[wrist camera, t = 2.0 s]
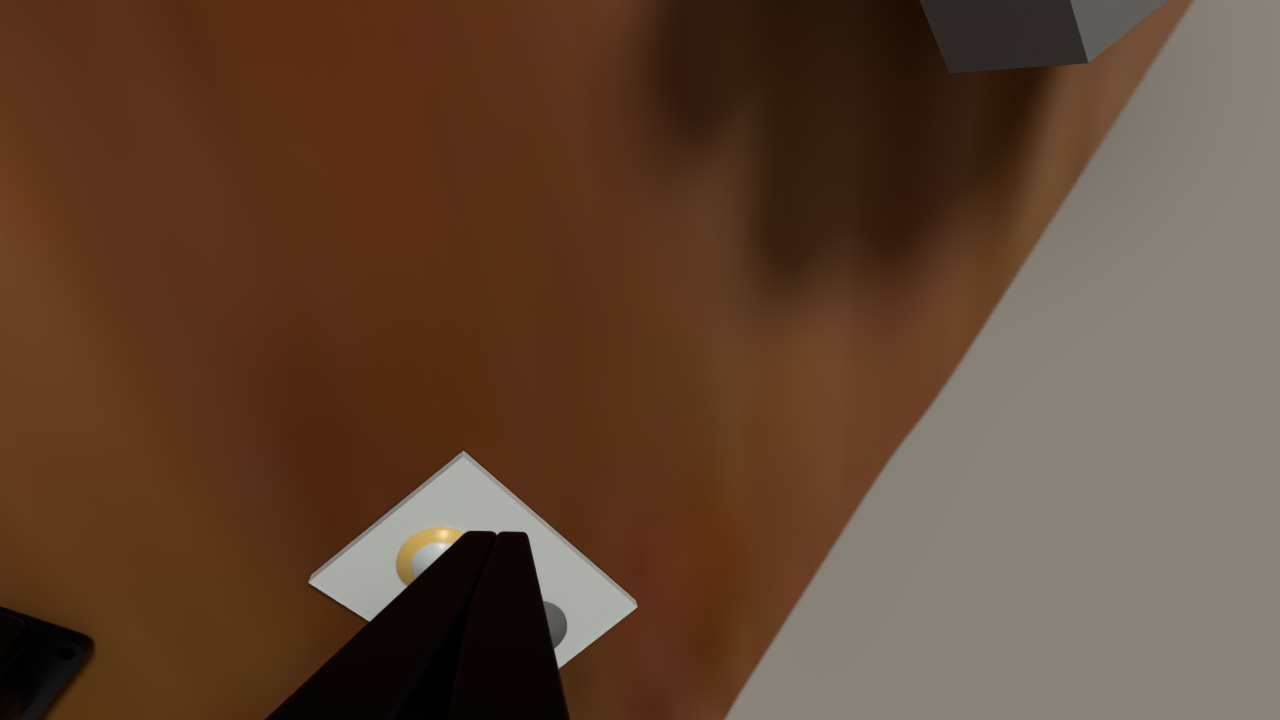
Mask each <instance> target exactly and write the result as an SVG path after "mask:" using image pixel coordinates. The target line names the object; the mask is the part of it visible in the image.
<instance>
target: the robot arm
mask: <svg viewBox="0 0 1280 720" xmlns="http://www.w3.org/2000/svg"><path fill="white" fill-rule="evenodd" d="M91 646H92V643H91V640H90V639H89V638H88V637H87V636H85V635H83V634H81V633H78V632H75V631H72V630H69V629H66V628H63V627H60V626H57V625H54V624H51V623H47V622H44V621H41V620H38V619H35V618H32V617H29V616H26V615H23V614H20V613H17V612H14V611H11V610H8V609H5V608H2V607H0V720H37V718H38V717H39V716H40V715H41V713H42V712H43V711H44V709H45V708H46V707H47V705H48V704H49V703H50V702H51V700H52V699H53V698H54V696H55V695H56V694H57V692H58V691H59V690H60V689H61V687H62V686H63V685H64V683H65V682H66V681H67V679H68V678H69V677H70V676H71V674H72V673H73V672H74V670H75V669H76V668H77V666H78V665H79V664H80V663H81V661H82V660H83V659H84V657H85V656H86V655H87V653H88V652H89V650H90V649H91ZM67 648H70V649H72V650H69V649H67ZM265 720H570V716H569V712H568V707H567V703H566V699H565V694H564V690H563V686H562V681H561V677H560V672H559V668H558V664H557V659H556V655H555V651H554V646H553V642H552V637H551V633H550V629H549V624H548V620H547V616H546V611H545V607H544V602H543V598H542V594H541V589H540V585H539V580H538V576H537V572H536V567H535V563H534V559H533V554H532V550H531V545H530V541H529V537H528V535H527V533H525V532H514V531H501V532H499V533H498V534H496V533H495V532H493V531H467V532H466V533H464V534H463V535H462V536H461V537H460V538H459V539H457V540H456V541H455V542H454V543H453V544H452V545H451V546H450V547H449V548H448V549H447V550H446V551H445V552H444V553H442V554H441V555H440V556H439V557H438V558H437V559H436V560H435V561H434V562H433V563H432V564H431V565H430V566H429V567H427V568H426V569H425V570H424V571H423V572H422V573H421V574H420V575H419V576H418V577H417V578H416V579H415V580H414V581H413V582H411V583H410V584H409V585H408V586H407V587H406V588H405V589H404V590H403V591H402V592H401V593H400V594H399V595H398V596H396V597H395V598H394V599H393V600H392V601H391V602H390V603H389V604H388V605H387V606H386V607H385V608H384V609H383V610H381V611H380V612H379V613H378V614H377V615H376V616H375V617H374V618H373V619H372V620H371V621H370V622H369V623H368V624H367V625H365V626H364V627H363V628H362V629H361V630H360V631H359V632H358V633H357V634H356V635H355V636H354V637H353V638H352V639H350V640H349V641H348V642H347V643H346V644H345V645H344V646H343V647H342V648H341V649H340V650H339V651H338V652H337V653H335V654H334V655H333V656H332V657H331V658H330V659H329V660H328V661H327V662H326V663H325V664H324V665H323V666H322V667H321V668H319V669H318V670H317V671H316V672H315V673H314V674H313V675H312V676H311V677H310V678H309V679H308V680H307V681H306V682H304V683H303V684H302V685H301V686H300V687H299V688H298V689H297V690H296V691H295V692H294V693H293V694H292V695H291V696H289V697H288V698H287V699H286V700H285V701H284V702H283V703H282V704H281V705H280V706H279V707H278V708H277V709H276V710H275V711H273V712H272V713H271V714H270V715H269V716H268V717H267V718H266V719H265Z"/></svg>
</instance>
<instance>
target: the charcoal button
mask: <svg viewBox="0 0 1280 720" xmlns="http://www.w3.org/2000/svg"><path fill="white" fill-rule="evenodd" d="M1165 1H1167V0H920V3H921V5H922V8H923V10H924V12H925V15H926V17H927V20H928V22H929V25H930V27H931V30H932V32H933V34H934V37H935V39H936V42H937V44H938V47H939V49H940V51H941V54H942V56H943V59H944V61H945V64H946V66H947V69H948V71H949V73H950V74H951V73H964V72H977V71H991V70H1004V69H1017V68H1030V67H1043V66H1056V65H1069V64H1082V63H1089V62H1091V61H1092V60H1093V59H1094V58H1095V57H1097V56H1098V55H1099V54H1100V53H1102V52H1103V51H1104V50H1105V49H1107V48H1108V47H1109V46H1110V45H1112V44H1113V43H1114V42H1115V41H1117V40H1118V39H1119V38H1120V37H1122V36H1123V35H1124V34H1125V33H1127V32H1128V31H1129V30H1130V29H1132V28H1133V27H1134V26H1135V25H1137V24H1138V23H1139V22H1140V21H1142V20H1143V19H1144V18H1145V17H1147V16H1148V15H1149V14H1150V13H1152V12H1153V11H1154V10H1155V9H1157V8H1158V7H1159V6H1160V5H1162V4H1163V3H1164V2H1165Z"/></svg>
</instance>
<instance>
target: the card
mask: <svg viewBox="0 0 1280 720" xmlns="http://www.w3.org/2000/svg"><path fill="white" fill-rule="evenodd" d="M467 531H493V532H495V533H496V534H498V533H499V532H501V531H514V532H525V533H527V535H528V537H529V541H530V545H531V550H532V554H533V559H534V563H535V567H536V572H537V576H538V580H539V585H540V589H541V594H542V598H543V602H544V607H545V611H546V616H547V620H548V624H549V629H550V633H551V637H552V642H553V646H554V651H555V655H556V659H557V664H558V668H560V667H561V666H563V665H564V664H565V663H566V662H568V661H569V660H570V659H572V658H573V657H574V656H575V655H577V654H578V653H579V652H580V651H582V650H583V649H584V648H586V647H587V646H588V645H589V644H591V643H592V642H593V641H595V640H596V639H597V638H598V637H600V636H601V635H602V634H604V633H605V632H606V631H607V630H609V629H610V628H611V627H613V626H614V625H615V624H616V623H618V622H619V621H620V620H622V619H623V618H624V617H625V616H627V615H628V614H629V613H630V612H632V611H633V610H634V609H636V608H637V604H636V601H635V599H634V598H632V597H631V596H630V595H629V594H628V593H627V592H626V591H624V590H623V589H622V588H621V587H620V586H619V585H618V584H616V583H615V582H614V581H613V580H612V579H611V578H609V577H608V576H607V575H606V574H605V573H604V572H603V571H601V570H600V569H599V568H598V567H597V566H596V565H595V564H593V563H592V562H591V561H590V560H589V559H588V558H586V557H585V556H584V555H583V554H582V553H581V552H580V551H578V550H577V549H576V548H575V547H574V546H573V545H571V544H570V543H569V542H568V541H567V540H566V539H565V538H563V537H562V536H561V535H560V534H559V533H558V532H557V531H555V530H554V529H553V528H552V527H551V526H550V525H548V524H547V523H546V522H545V521H544V520H543V519H542V518H540V517H539V516H538V515H537V514H536V513H535V512H534V511H532V510H531V509H530V508H529V507H528V506H527V505H525V504H524V503H523V502H522V501H521V500H520V499H519V498H517V497H516V496H515V495H514V494H513V493H512V492H511V491H509V490H508V489H507V488H506V487H505V486H504V485H502V484H501V483H500V482H499V481H498V480H497V479H496V478H494V477H493V476H492V475H491V474H490V473H489V472H487V471H486V470H485V469H484V468H483V467H482V466H481V465H479V464H478V463H477V462H476V461H475V460H474V459H473V458H471V457H470V456H469V455H468V454H467V453H466V452H464V451H462V452H461V453H460V454H459V455H457V456H456V457H455V458H454V459H452V460H451V461H450V462H449V463H448V464H446V465H445V466H444V467H443V468H441V469H440V470H439V471H438V472H437V473H435V474H434V475H433V476H432V477H430V478H429V479H428V480H427V481H426V482H424V483H423V484H422V485H421V486H419V487H418V488H417V489H416V490H415V491H413V492H412V493H411V494H410V495H408V496H407V497H406V498H405V499H403V500H402V501H401V502H400V503H399V504H397V505H396V506H395V507H394V508H392V509H391V510H390V511H389V512H388V513H386V514H385V515H384V516H383V517H381V518H380V519H379V520H378V521H377V522H375V523H374V524H373V525H372V526H370V527H369V528H368V529H367V530H365V531H364V532H363V533H362V534H361V535H359V536H358V537H357V538H356V539H354V540H353V541H352V542H351V543H350V544H348V545H347V546H346V547H345V548H343V549H342V550H341V551H340V552H339V553H337V554H336V555H335V556H334V557H332V558H331V559H330V560H329V561H328V562H326V563H325V564H324V565H323V566H321V567H320V568H319V569H318V570H316V571H315V572H314V573H313V574H312V575H311V577H310V580H309V582H308V583H310V584H311V585H313V586H314V587H316V588H317V589H319V590H321V591H322V592H324V593H325V594H327V595H328V596H330V597H332V598H333V599H335V600H336V601H338V602H339V603H341V604H343V605H344V606H346V607H347V608H349V609H350V610H352V611H354V612H355V613H357V614H358V615H360V616H361V617H363V618H365V619H366V620H368V621H369V622H370V621H371V620H372V619H373V618H374V617H375V616H376V615H377V614H378V613H379V612H380V611H381V610H383V609H384V608H385V607H386V606H387V605H388V604H389V603H390V602H391V601H392V600H393V599H394V598H395V597H396V596H398V595H399V594H400V593H401V592H402V591H403V590H404V589H405V588H406V587H407V586H408V585H409V584H410V583H411V582H413V581H414V580H415V579H416V578H417V577H418V576H419V575H420V574H421V573H422V572H423V571H424V570H425V569H426V568H427V567H429V566H430V565H431V564H432V563H433V562H434V561H435V560H436V559H437V558H438V557H439V556H440V555H441V554H442V553H444V552H445V551H446V550H447V549H448V548H449V547H450V546H451V545H452V544H453V543H454V542H455V541H456V540H457V539H459V538H460V537H461V536H462V535H463V534H464V533H466V532H467Z"/></svg>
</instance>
